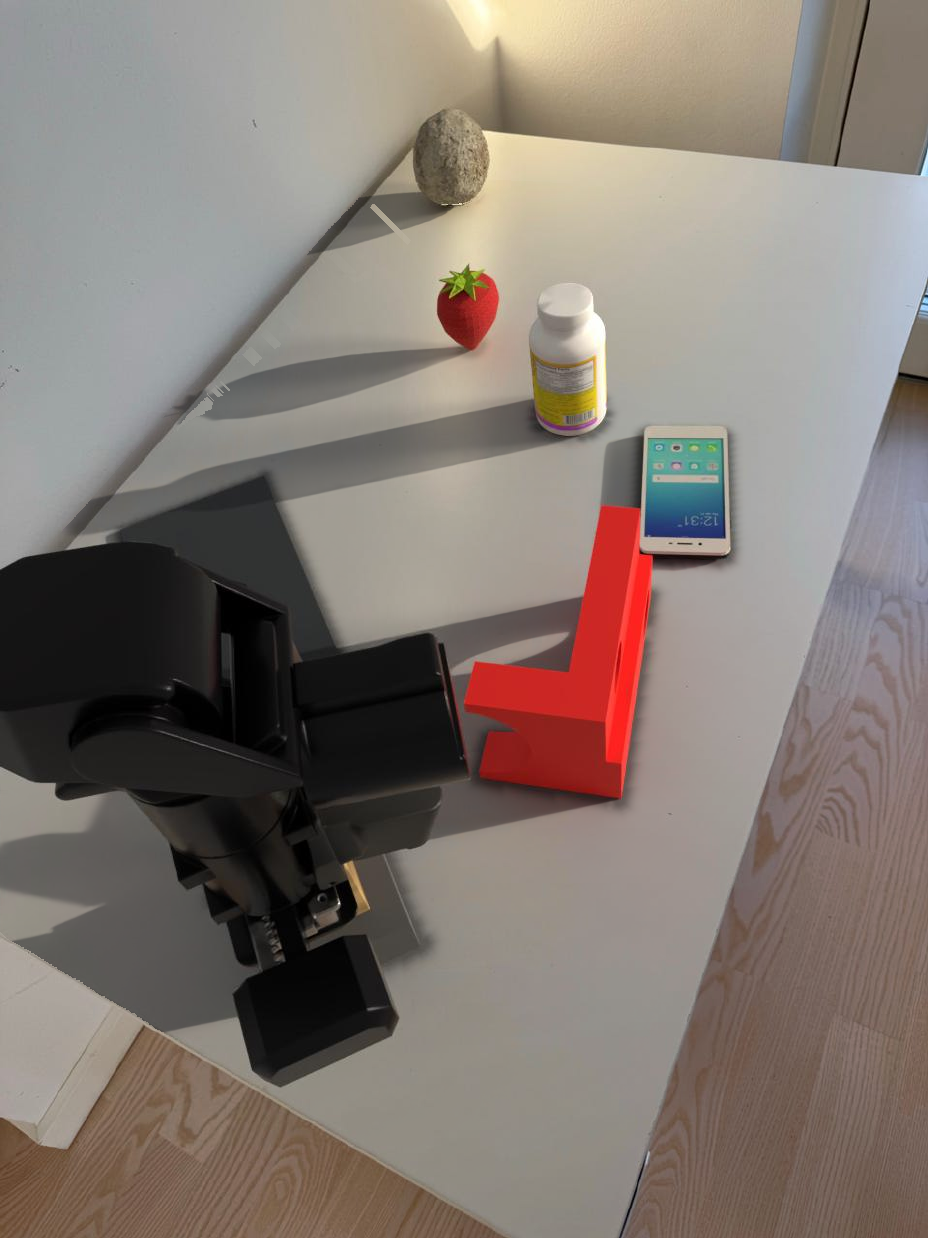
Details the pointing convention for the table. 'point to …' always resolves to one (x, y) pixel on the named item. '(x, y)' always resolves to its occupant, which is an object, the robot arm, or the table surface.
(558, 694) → the bracket
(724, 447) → the smartphone
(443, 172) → the decorative stone
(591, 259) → the table surface
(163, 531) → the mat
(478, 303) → the strawberry
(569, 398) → the supplement bottle
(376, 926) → the stand
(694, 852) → the table surface
